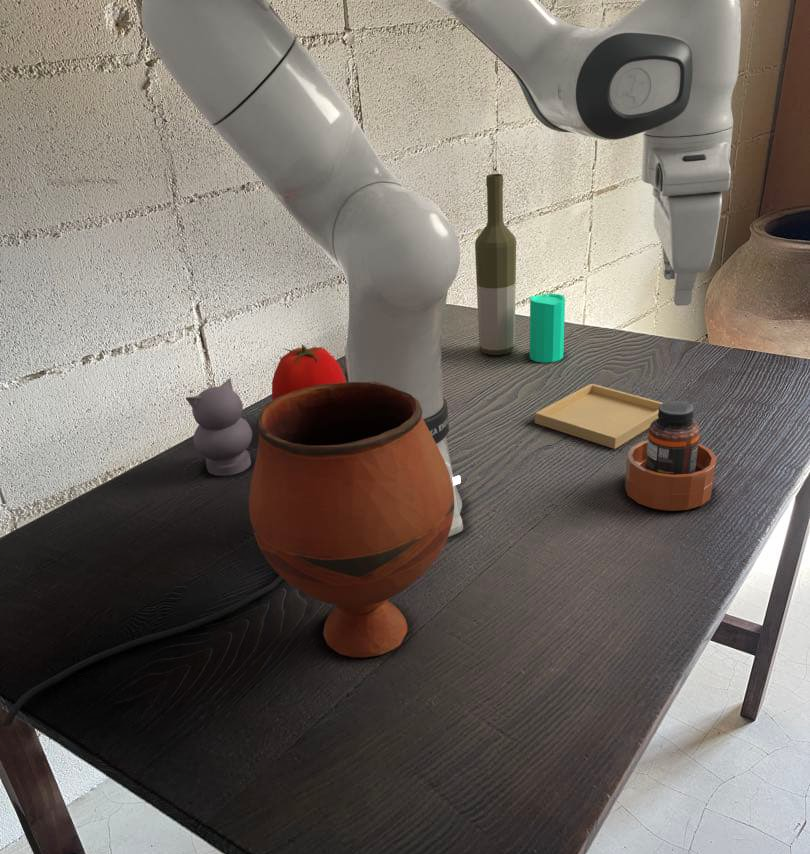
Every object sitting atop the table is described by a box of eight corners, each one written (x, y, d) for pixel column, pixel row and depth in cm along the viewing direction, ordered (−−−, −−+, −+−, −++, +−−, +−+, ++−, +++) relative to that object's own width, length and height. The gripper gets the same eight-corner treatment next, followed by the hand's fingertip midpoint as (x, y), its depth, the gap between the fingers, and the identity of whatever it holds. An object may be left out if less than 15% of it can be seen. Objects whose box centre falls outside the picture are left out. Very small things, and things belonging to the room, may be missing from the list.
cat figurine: (222, 485, 115) (205, 405, 109) (188, 470, 120) (170, 393, 113) (269, 461, 120) (254, 383, 114) (234, 448, 125) (219, 372, 118)
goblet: (466, 690, 77) (455, 450, 64) (262, 702, 78) (208, 467, 64) (454, 572, 93) (444, 361, 80) (285, 583, 94) (246, 375, 80)
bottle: (522, 347, 152) (523, 171, 136) (505, 360, 147) (504, 179, 131) (488, 342, 156) (485, 170, 139) (471, 355, 151) (465, 178, 135)
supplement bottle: (687, 477, 107) (698, 396, 100) (696, 501, 102) (708, 416, 96) (640, 478, 107) (647, 397, 101) (647, 501, 102) (655, 417, 96)
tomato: (367, 419, 130) (359, 338, 123) (319, 451, 122) (307, 366, 115) (311, 407, 136) (299, 328, 129) (260, 437, 128) (245, 355, 120)
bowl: (682, 521, 98) (687, 485, 96) (609, 494, 105) (611, 459, 102) (726, 488, 104) (732, 453, 101) (654, 464, 111) (657, 430, 108)
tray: (614, 449, 115) (615, 438, 115) (534, 423, 124) (534, 412, 124) (669, 415, 123) (671, 404, 122) (590, 393, 132) (591, 383, 131)
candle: (526, 361, 146) (527, 294, 139) (532, 350, 151) (533, 283, 144) (560, 363, 144) (562, 294, 138) (565, 351, 149) (567, 284, 142)
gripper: (644, 145, 96) (639, 265, 104) (665, 182, 79) (657, 321, 87) (701, 140, 95) (691, 262, 103) (734, 176, 78) (720, 318, 86)
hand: (676, 290), depth 95 cm, fingers open, 8 cm apart
